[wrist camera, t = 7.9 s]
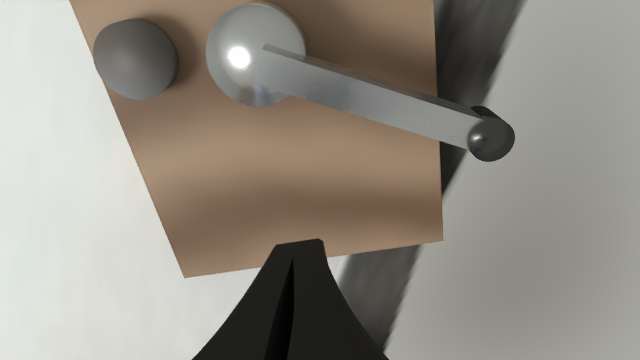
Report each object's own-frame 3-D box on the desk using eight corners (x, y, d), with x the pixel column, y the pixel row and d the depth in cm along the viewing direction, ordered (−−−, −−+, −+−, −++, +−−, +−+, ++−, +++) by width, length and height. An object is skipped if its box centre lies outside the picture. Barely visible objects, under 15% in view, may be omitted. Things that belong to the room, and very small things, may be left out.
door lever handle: (498, 79, 17) (538, 101, 14) (460, 154, 19) (488, 189, 16) (227, -13, 15) (205, -10, 12) (210, 78, 17) (187, 101, 14)
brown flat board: (437, 227, 22) (451, 257, 20) (190, 264, 23) (176, 296, 21) (416, -199, 14) (436, -233, 12) (39, -117, 15) (-12, -133, 13)
